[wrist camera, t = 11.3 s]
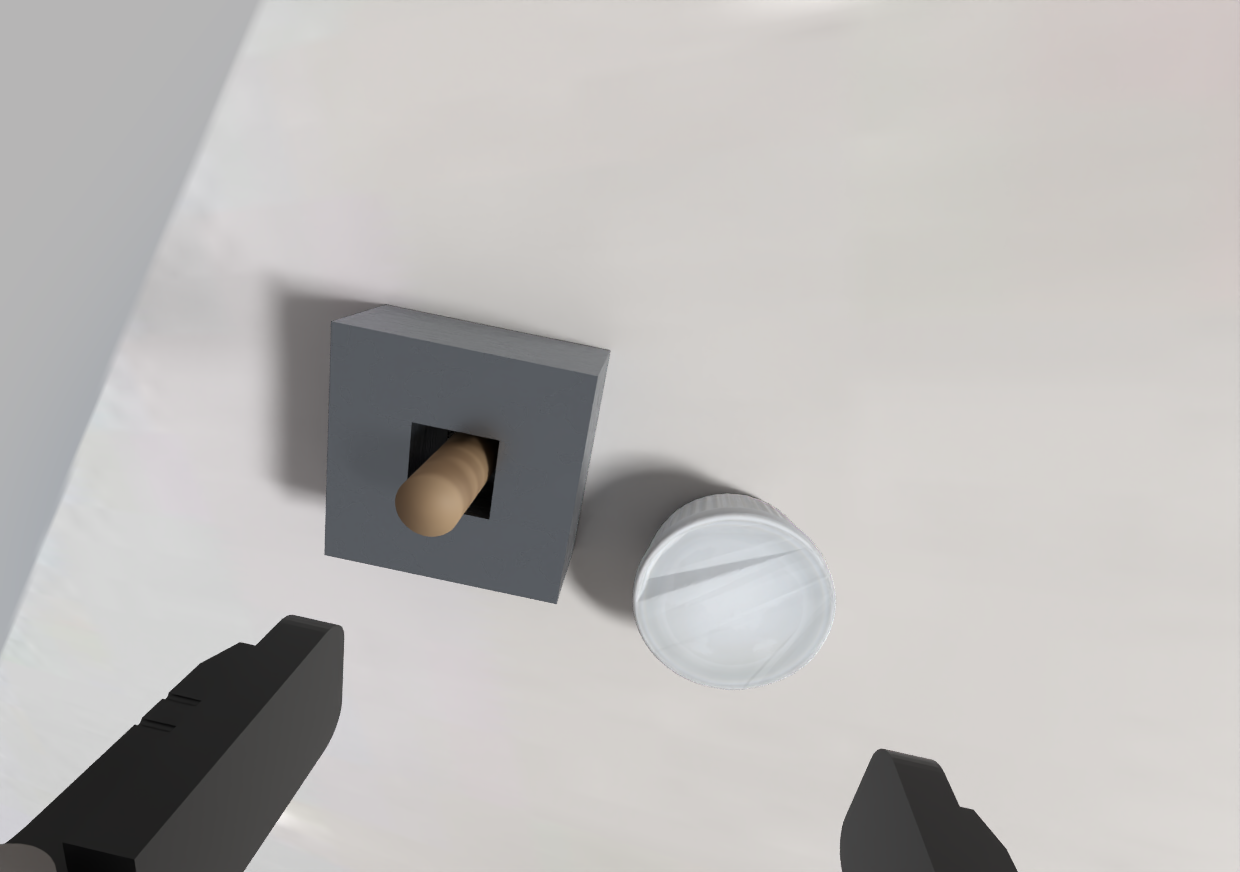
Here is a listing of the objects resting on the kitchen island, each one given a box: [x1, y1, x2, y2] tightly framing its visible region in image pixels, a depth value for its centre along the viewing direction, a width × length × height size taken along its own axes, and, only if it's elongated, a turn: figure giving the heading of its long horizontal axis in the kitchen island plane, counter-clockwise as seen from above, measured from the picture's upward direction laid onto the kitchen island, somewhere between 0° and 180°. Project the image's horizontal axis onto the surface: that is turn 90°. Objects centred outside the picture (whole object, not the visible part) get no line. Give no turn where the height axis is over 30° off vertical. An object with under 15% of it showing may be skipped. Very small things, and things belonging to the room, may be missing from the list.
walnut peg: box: [395, 431, 500, 537], centre depth 33 cm, size 3×3×10 cm
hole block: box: [325, 305, 610, 604], centre depth 35 cm, size 13×13×6 cm
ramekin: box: [633, 493, 836, 690], centre depth 37 cm, size 11×11×5 cm
